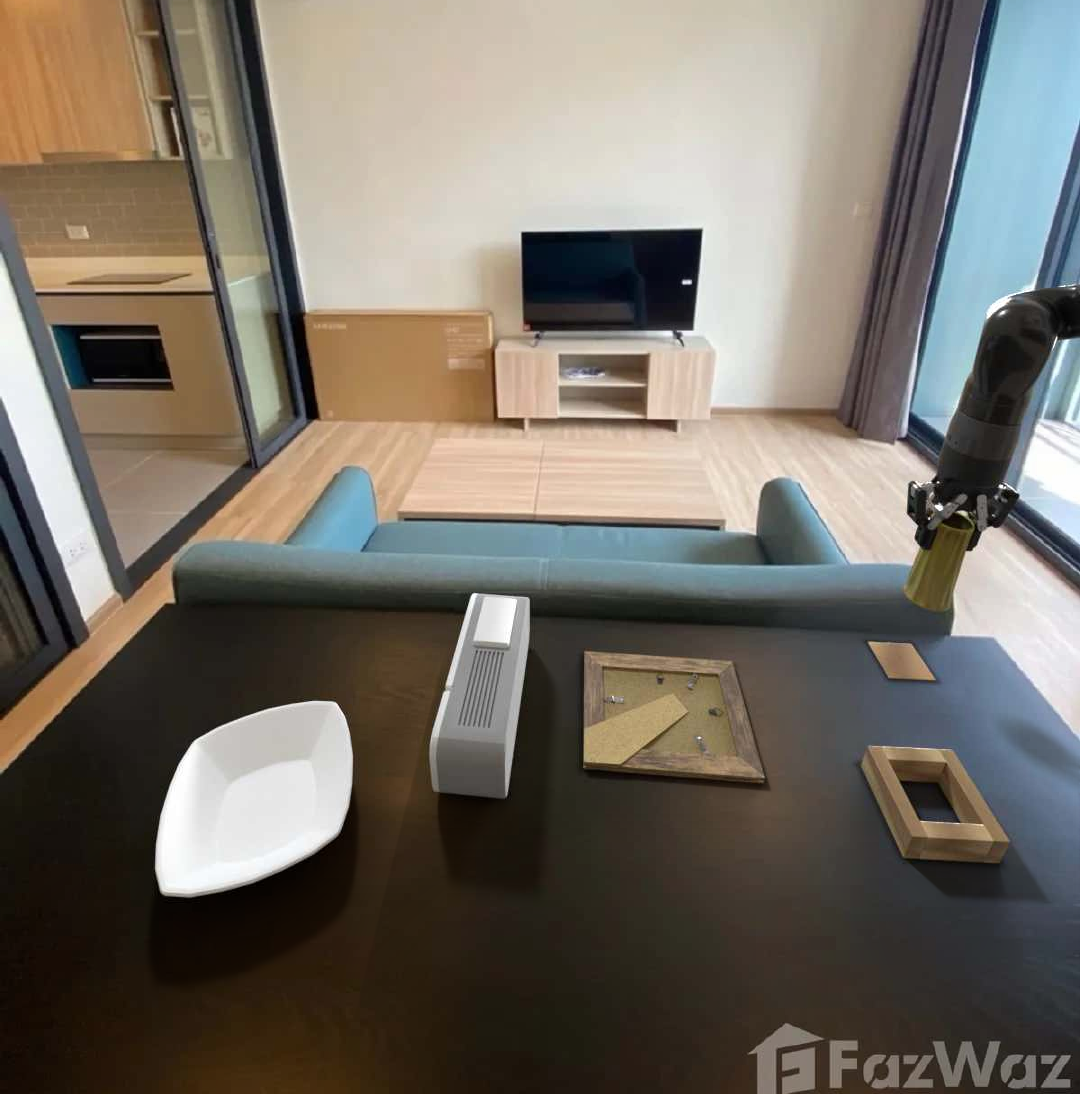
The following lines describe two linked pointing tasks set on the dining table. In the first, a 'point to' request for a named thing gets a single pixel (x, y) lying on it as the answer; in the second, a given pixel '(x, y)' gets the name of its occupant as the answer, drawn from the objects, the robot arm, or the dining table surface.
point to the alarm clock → (482, 699)
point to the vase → (939, 564)
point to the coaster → (901, 661)
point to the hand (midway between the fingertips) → (943, 546)
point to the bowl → (254, 799)
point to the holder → (978, 825)
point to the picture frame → (667, 718)
